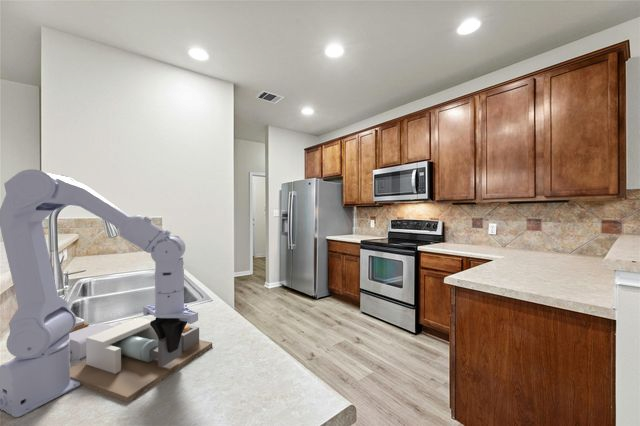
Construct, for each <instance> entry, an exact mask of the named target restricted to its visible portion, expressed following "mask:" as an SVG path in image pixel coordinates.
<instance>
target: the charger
mask: <svg viewBox="0 0 640 426" xmlns="http://www.w3.org/2000/svg"><path fill="white" fill-rule="evenodd" d="M123 323H124V322H123ZM123 323H122V322H117V323H115V324H107V323H100V322H98V323H95V324H92V325H88V327H86V328H83V329H80V330H77V331H74V332H72V333H69V339H70V359H74V360H78V361H79V360H82V359H84V358H85V357H86V338H87V337H89V336H92V335H95V334H97V333H100V332H102V331H105V330H108V329H110V328H113V327H115V326H118V325H121V324H123Z"/></svg>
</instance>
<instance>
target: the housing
mask: <svg viewBox="0 0 640 426" xmlns="http://www.w3.org/2000/svg"><path fill="white" fill-rule="evenodd" d="M151 321H153V320H151V319H145V318H141V317H137V318H134V319H131V320H129V321H126V322H123V324H121V325H118V326H115V327H113V328H110V329H108V330H105V331H102V332H100V333H97V334H95V335H92V336H89V337H87V338H86V358H85V359H86V360H85V361H86V364H87V365H90V366H93V367H96V368H99V369H102V370H105V371H109V372H112V373H115V374H116V373H117V372H119V371H121V348H119V347H115V346H113V344H114V343H115V342H117V341H119V340H122V339H124V338H126V337H128V336H131V335H134V336H138V337H142V338H146V339H150V340H153V339H154V340H158V341H159V339H158V336H157V334H156V332H155V331H154V329H153V328H152V326H151V325H150V322H151ZM186 326H189V327H190V330H189V331H187V332H185V333H182V335H181V342H182V351H185V350H187V349H189V348H190V347H192V346H194V345H195V344H197V343H199V340H200V327H199V326H194V325H191V324H186Z"/></svg>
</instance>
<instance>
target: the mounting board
mask: <svg viewBox="0 0 640 426" xmlns="http://www.w3.org/2000/svg"><path fill="white" fill-rule="evenodd" d="M211 346H212V347H213V342H211V341H207V340H201V339H199V343H197V344H195V345H194V346H192V347H190V348H189V349H187V350H185V351H182V355H181V356H179V357H178V358H176V359H174V360H173V361H171V362H169V363H168V364H166V365H165V366H163V367H161V366H158V359H157V358H156V359H154V360H153V361H151V362H146V361H142V360H139V359H135V358H132V357H128V356H125V355H121V371H119V372H117V373H116V374H115V373H112V372H109V371H105V370H102V369H99V368H96V367H93V366H90V365H87V364H86V360H85V361H82V362H80V363H78V364H75V365H73V366H72V367H71V366H70V379H73V380H75V381H78V382H81V385H80V386H82V387H85V388H88V389H90V390H92V391H95V392H99V393H101V394H103V395H107V396H108V397H112V398H114V399H117V400H120V401H122V402H125V403H129V402H130V401H132V400H134V399H135V398H136V397H138V396H139V395H141V394H143V393H145V391H147V390H149V388H151V387H153V386H155V385H156V384H157V383H159V382H161V381H163V379H165V378H167V377H168V376H169V375H171V374H173V373H174V372H176V371H177V370H179V369H180V368H182V367H183V366H184V365H186V364H188V363H189V362H191V361H192V360H194V359H196V358H197V357H198V356H200V355H202V354H203V353H204V351H205V350H206V351H208V350H209V349H210V348H209V347H211ZM212 347H211V348H212ZM208 348H209V349H208ZM207 349H208V350H207ZM206 351H205V352H206ZM202 352H203V353H202Z"/></svg>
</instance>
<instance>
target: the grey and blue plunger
mask: <svg viewBox="0 0 640 426" xmlns="http://www.w3.org/2000/svg"><path fill="white" fill-rule="evenodd" d="M113 346H115V347H119V348H121V355H125V356H128V357H132V358H135V359H139V360H142V361H146V362H151V361H153V360H154V359H156V358H157V359H158V366H161V367H163V366H165V365H166V364H168V363H169V362H171V361H173V360H174V359H176V358H178V357H179V356H181V355H182V342H181V339H180V342H179V346H178V349H177V350H175V351H173V352H171V353H169V352H168V350H167V341H166V337H165V338H163V339H161V340H159V341H158V340H154V339H153V340H150V339H146V338H142V337H138V336H134V335H131V336H128V337H126V338H124V339H122V340H119V341H117V342H115V343H114V344H113Z"/></svg>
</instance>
